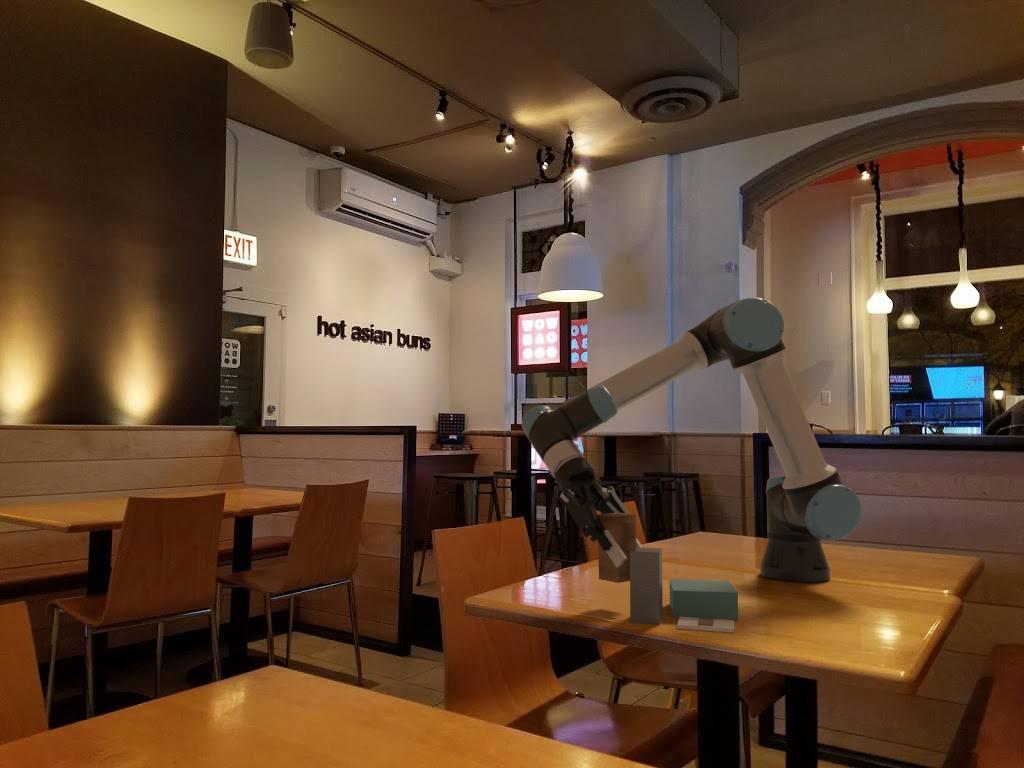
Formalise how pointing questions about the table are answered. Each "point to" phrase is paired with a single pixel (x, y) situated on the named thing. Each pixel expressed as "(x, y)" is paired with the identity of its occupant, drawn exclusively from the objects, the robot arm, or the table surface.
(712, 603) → the teal pedestal
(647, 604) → the grey metal block
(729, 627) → the card
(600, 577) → the walnut block
